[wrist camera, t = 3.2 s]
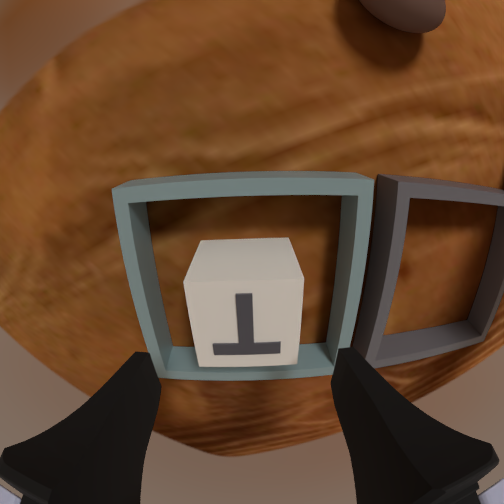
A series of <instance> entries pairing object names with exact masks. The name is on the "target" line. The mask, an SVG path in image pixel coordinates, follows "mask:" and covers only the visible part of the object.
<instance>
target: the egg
mask: <svg viewBox="0 0 504 504" xmlns="http://www.w3.org/2000/svg"><path fill="white" fill-rule="evenodd" d="M359 1H360V2H361V4H362V5H363V6H364V7H365V8H366V9H367V10H368V11H369V12H370V13H371V14H372V15H374V16H375V17H376V18H378V19H379V20H380V21H382V22H384V23H385V24H387V25H389V26H391V27H393V28H396V29H398V30H401V31H405V32H410V33H425V32H429V31H432V30H434V29H435V28H437V27H438V26H439V25H440V24H441V23H442V21H443V19H444V16H445V11H446V5H445V0H359Z"/></svg>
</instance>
